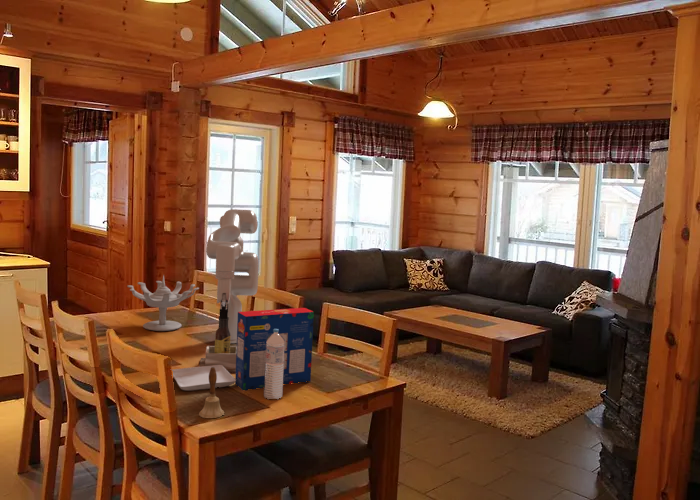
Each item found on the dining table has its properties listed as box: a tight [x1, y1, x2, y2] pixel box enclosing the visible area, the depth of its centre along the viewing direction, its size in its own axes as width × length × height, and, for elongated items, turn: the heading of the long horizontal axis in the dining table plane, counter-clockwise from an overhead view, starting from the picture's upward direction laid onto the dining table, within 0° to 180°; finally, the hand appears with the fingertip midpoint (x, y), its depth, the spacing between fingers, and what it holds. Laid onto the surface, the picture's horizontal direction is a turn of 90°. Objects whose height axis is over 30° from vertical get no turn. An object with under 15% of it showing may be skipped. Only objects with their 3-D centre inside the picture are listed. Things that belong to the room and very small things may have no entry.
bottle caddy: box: [198, 345, 237, 374], centre depth 263 cm, size 18×18×7 cm
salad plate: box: [171, 365, 236, 391], centre depth 242 cm, size 21×21×3 cm
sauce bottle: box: [214, 317, 231, 353], centre depth 262 cm, size 7×6×20 cm
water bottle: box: [263, 329, 285, 400], centre depth 229 cm, size 7×7×25 cm
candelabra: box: [127, 274, 200, 332], centre depth 320 cm, size 34×35×27 cm
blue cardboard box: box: [234, 307, 315, 391], centre depth 244 cm, size 28×8×28 cm, turn 121°
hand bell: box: [198, 367, 225, 419], centre depth 210 cm, size 8×8×16 cm
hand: (223, 315), depth 261 cm, fingers open, 9 cm apart
